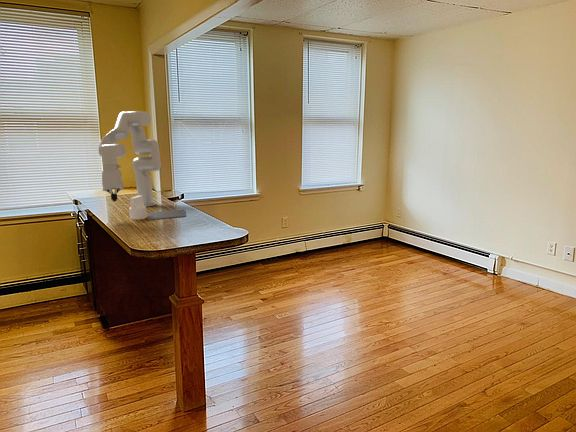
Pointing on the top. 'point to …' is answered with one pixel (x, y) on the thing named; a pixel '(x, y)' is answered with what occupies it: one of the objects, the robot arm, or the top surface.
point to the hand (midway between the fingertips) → (114, 200)
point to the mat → (166, 214)
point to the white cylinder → (137, 208)
